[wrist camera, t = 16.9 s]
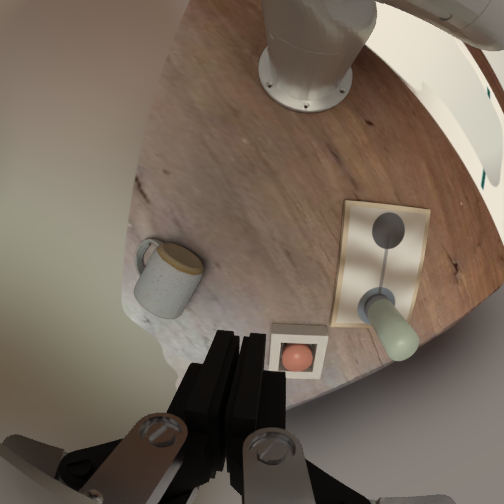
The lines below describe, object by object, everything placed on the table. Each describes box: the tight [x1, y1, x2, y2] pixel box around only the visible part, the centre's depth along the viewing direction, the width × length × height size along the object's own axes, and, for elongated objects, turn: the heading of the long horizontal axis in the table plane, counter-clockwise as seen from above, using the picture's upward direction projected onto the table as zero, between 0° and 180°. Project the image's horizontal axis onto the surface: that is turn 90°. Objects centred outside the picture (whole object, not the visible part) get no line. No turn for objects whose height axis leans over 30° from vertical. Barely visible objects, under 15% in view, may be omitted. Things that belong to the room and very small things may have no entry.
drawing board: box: [329, 200, 430, 327], centre depth 37 cm, size 18×13×1 cm
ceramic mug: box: [134, 239, 204, 319], centre depth 37 cm, size 11×8×8 cm
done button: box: [282, 343, 313, 372], centre depth 39 cm, size 4×4×2 cm
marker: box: [364, 293, 419, 361], centre depth 32 cm, size 4×4×11 cm
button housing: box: [269, 323, 328, 379], centre depth 40 cm, size 8×8×3 cm
